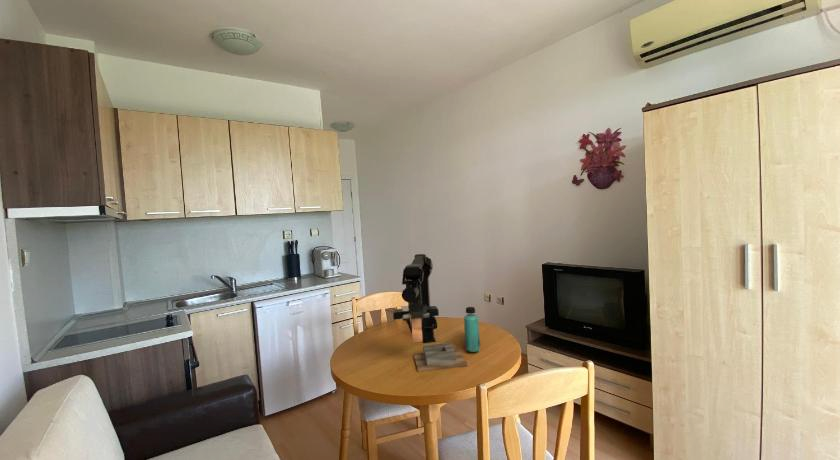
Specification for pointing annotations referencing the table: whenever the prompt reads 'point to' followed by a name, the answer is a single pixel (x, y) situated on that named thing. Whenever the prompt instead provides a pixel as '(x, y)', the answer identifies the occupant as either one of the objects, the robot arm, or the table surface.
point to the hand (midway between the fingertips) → (416, 332)
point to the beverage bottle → (471, 330)
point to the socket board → (445, 366)
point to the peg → (416, 329)
